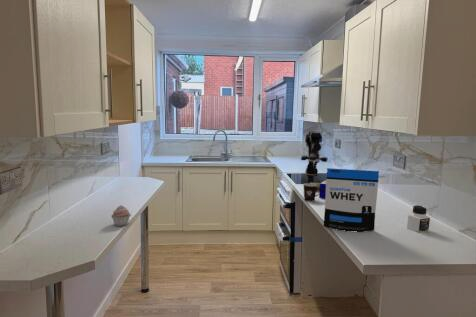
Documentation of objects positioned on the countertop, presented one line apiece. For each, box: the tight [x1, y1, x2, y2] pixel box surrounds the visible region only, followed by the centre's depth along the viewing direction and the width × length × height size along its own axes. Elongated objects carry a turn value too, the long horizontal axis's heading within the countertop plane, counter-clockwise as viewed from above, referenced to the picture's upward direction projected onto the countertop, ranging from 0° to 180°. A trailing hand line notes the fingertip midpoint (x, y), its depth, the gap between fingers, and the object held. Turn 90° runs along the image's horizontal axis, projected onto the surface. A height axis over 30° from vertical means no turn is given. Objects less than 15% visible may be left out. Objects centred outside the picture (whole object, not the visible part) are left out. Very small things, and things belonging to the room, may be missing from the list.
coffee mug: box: [303, 182, 323, 202], centre depth 223 cm, size 12×9×10 cm
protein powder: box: [323, 167, 380, 233], centre depth 171 cm, size 10×24×30 cm, turn 77°
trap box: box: [311, 182, 321, 193], centre depth 252 cm, size 15×18×6 cm
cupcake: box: [110, 204, 132, 227], centre depth 172 cm, size 9×9×10 cm
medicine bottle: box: [406, 204, 431, 233], centre depth 173 cm, size 7×7×12 cm
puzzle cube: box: [318, 180, 326, 200], centre depth 232 cm, size 10×10×10 cm
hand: (313, 170), depth 259 cm, fingers closed
